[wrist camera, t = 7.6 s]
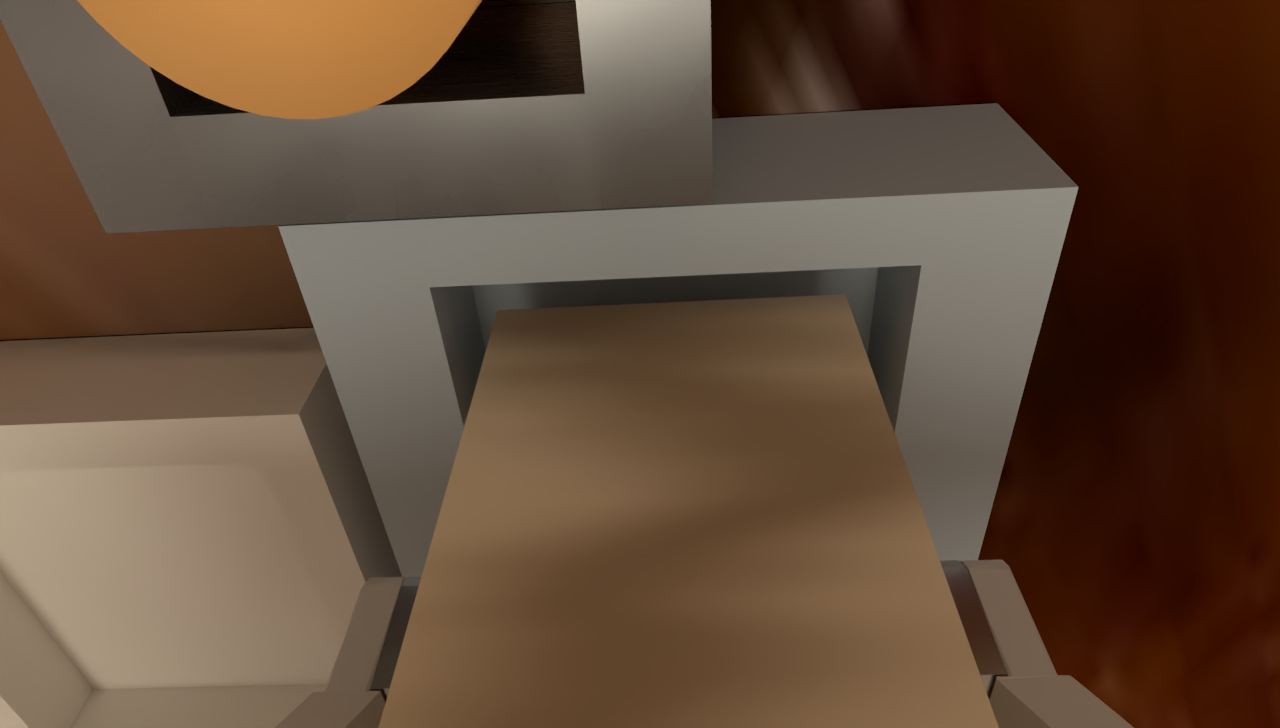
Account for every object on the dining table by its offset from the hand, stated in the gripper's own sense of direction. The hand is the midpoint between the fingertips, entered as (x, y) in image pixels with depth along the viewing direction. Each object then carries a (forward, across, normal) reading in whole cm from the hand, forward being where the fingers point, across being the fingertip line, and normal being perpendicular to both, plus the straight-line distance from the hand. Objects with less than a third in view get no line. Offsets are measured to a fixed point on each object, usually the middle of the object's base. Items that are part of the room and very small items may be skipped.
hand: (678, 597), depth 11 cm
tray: (+6, +11, +5) cm, 13 cm away
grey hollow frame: (+6, 0, +4) cm, 7 cm away
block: (+3, 0, 0) cm, 3 cm away
